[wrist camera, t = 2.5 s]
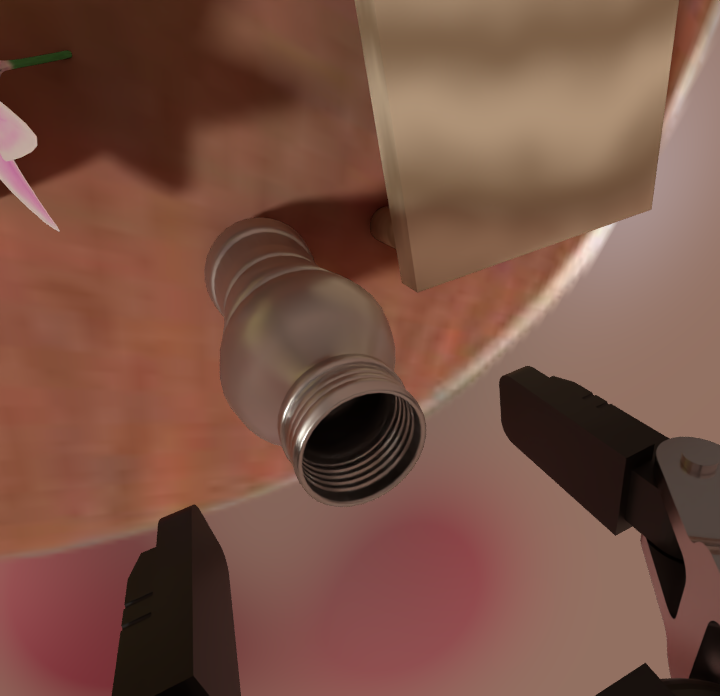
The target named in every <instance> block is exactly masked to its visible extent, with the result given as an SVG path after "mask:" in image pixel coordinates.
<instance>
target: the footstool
mask: <svg viewBox="0 0 720 696" xmlns="http://www.w3.org/2000/svg"><path fill="white" fill-rule="evenodd" d="M678 4H679V0H355V6H356V12H357V18H358V24H359V30H360V36H361V42H362V48H363V54H364V60H365V66H366V71H367V77H368V83H369V89H370V95H371V101H372V107H373V113H374V119H375V125H376V131H377V137H378V143H379V149H380V155H381V161H382V167H383V173H384V179H385V185H386V191H387V197H388V203H389V207H382V208H380V209H378V210H377V211H376V212H375V213H374V215H373V216H372V218H371V222H370V230H371V233H372V235H373V236H374V238H376V239H377V240H379V241H381V242H383V243H385V244H387V245H389V246H391V247H393V248H395V249H396V251H397V257H398V263H399V268H400V274H401V280H402V283H403V284H405V285H406V286H408V287H409V288H411V289H413V290H414V291H416V292H420V291H423V290H426V289H429V288H432V287H434V286H437V285H440V284H443V283H446V282H448V281H451V280H454V279H457V278H460V277H463V276H465V275H468V274H471V273H474V272H477V271H479V270H482V269H485V268H488V267H491V266H494V265H496V264H499V263H502V262H505V261H508V260H510V259H513V258H516V257H519V256H522V255H525V254H527V253H530V252H533V251H536V250H539V249H541V248H544V247H547V246H550V245H553V244H556V243H558V242H561V241H564V240H567V239H570V238H572V237H575V236H578V235H581V234H584V233H586V232H589V231H592V230H595V229H598V228H601V227H603V226H606V225H609V224H612V223H615V222H617V221H620V220H623V219H626V218H629V217H632V216H634V215H637V214H640V213H643V212H646V211H648V210H651V209H652V201H653V194H654V185H655V178H656V171H657V163H658V156H659V148H660V141H661V133H662V125H663V118H664V110H665V103H666V95H667V88H668V80H669V72H670V65H671V57H672V50H673V42H674V35H675V27H676V19H677V12H678Z"/></svg>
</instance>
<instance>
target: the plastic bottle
mask: <svg viewBox="0 0 720 696" xmlns="http://www.w3.org/2000/svg"><path fill="white" fill-rule="evenodd" d="M205 283H206V287H207V291H208V293H209V296H210V298H211V300H212V302H213V303H214V305H215V306H216V308H217V309H218V310H219V312H220V313H221V315H222V316H224V325H225V326H224V331H223V337H222V342H221V347H220V380H221V385H222V389H223V393H224V396H225V398H226V399H227V401H228V403H229V405H230V407H231V409H232V410H233V411H234V412H235V414H236V415H237V416H238V417H239V418H240V420H241V421H242V422H243V423H244V424H245V425H246V426H247V427H248V429H249V430H251V431H252V432H253V433H255V434H256V435H257V436H259V437H260V438H262V439H264V440H266V441H268V442H270V443H272V444H275V445H280V446H282V448H283V450H284V452H285V455H286V457H287V458H288V459H289V461H290V462H291V463H292V465H293V468H294V471H295V474H296V476H297V478H298V480H299V483H300V484H301V485H302V487H303V488H304V489H305V491H306V492H307V493H308V494H309V495H310V496H311V497H313V498H314V499H315V500H317V501H319V502H321V503H323V504H326V505H330V506H336V507H350V506H355V505H360V504H364V503H367V502H369V501H372V500H375V499H376V498H378V497H380V496H382V495H384V494H385V493H387V492H389V491H390V490H391V489H393V488H394V487H396V486H397V485H398V484H399V483H400V482H401V481H402V480H403V479H404V478H405V477H406V476H407V475H408V473H409V472H410V471H411V470H412V468H413V467H414V465H415V464H416V462H417V460H418V459H419V457H420V454H421V452H422V450H423V447H424V443H425V438H426V423H425V418H424V414H423V412H422V410H421V408H420V406H419V405H418V403H417V401H416V400H415V399H414V397H413V396H412V395H411V394H410V393H409V392H408V391H407V390H406V389H405V387H404V385H403V383H402V381H401V379H400V378H399V377H398V376H397V375H396V373H395V372H394V367H395V345H394V340H393V336H392V332H391V329H390V326H389V323H388V320H387V318H386V316H385V314H384V312H383V310H382V308H381V306H380V305H379V304H378V302H377V301H376V300H375V299H374V297H373V296H372V295H371V294H370V293H368V292H367V291H366V290H364V289H363V288H362V287H361V286H359V285H358V284H356V283H354V282H353V281H351V280H349V279H347V278H345V277H343V276H341V275H339V274H336V273H333V272H331V271H328V270H325V269H322V268H320V267H319V266H317V265H316V264H315V262H314V259H313V256H312V254H311V252H310V250H309V248H308V246H307V244H306V243H305V241H304V240H303V238H302V237H301V236H300V235H299V234H298V232H296V231H295V230H294V229H293V228H291V227H290V226H289V225H287V224H285V223H283V222H281V221H278V220H274V219H271V218H259V217H257V218H250V219H244V220H242V221H239V222H236V223H234V224H233V225H231V226H230V227H228V228H226V229H225V230H224V231H223V232H222V233H221V234H220V235H219V236H218V237H217V239H216V240H215V242H214V243H213V245H212V246H211V248H210V251H209V253H208V255H207V258H206V264H205Z"/></svg>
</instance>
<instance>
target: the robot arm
mask: <svg viewBox="0 0 720 696" xmlns="http://www.w3.org/2000/svg"><path fill="white" fill-rule="evenodd" d="M499 388H500V406H501V422H502V426H503V429H504V431H505V433H506V435H507V437H508V438H509V440H510V441H511V442H512V443H513V444H514V445H515V446H516V447H517V448H519V449H520V450H521V451H522V452H523V453H524V454H525V455H526V456H527V457H528V458H530V459H531V460H532V461H533V462H534V463H535V464H536V465H537V466H538V467H540V468H541V469H542V470H543V471H544V472H545V473H546V474H547V475H548V476H550V477H551V478H552V479H553V480H554V481H555V482H557V484H559V485H560V486H561V487H562V488H563V489H564V490H565V491H566V492H567V493H569V494H570V495H571V496H572V497H573V498H574V499H575V500H576V501H577V502H579V503H580V504H581V505H582V506H583V507H584V508H585V509H586V510H588V511H589V512H590V513H591V514H592V515H593V516H594V517H595V518H597V519H598V520H599V521H600V522H601V523H602V524H603V525H604V526H605V527H607V528H608V529H609V530H610V531H611V532H612V533H613V534H614V535H615V536H616V535H618V534H619V533H621V532H623V531H625V530H627V529H629V528H630V527H632V526H633V527H634V528H636V529H637V530H638V531H639V532H640V533H641V540H640V541H641V546H642V550H643V553H644V557H645V560H646V563H647V567H648V570H649V574H650V577H651V581H652V584H653V587H654V591H655V594H656V598H657V601H658V605H659V608H660V612H661V615H662V619H663V622H664V625H665V630H666V637H667V657H668V664H669V670H670V675H671V678H669V679H659V677H658V676H657V675H656V674H655V673H654V672H653V671H652V670H651V669H650V667H649V666H648V665H647V664H646V663H644V664H643V665H641V666H640V667H638V668H637V669H635V670H634V671H632V672H631V673H629V674H628V675H626V676H624V677H623V678H621V679H620V680H618V681H617V682H615V683H614V684H612V685H611V686H609V687H608V688H606V689H605V690H603V691H602V692H600V693H598V694H597V695H596V696H720V445H719V444H716V443H714V442H711V441H708V440H704V439H700V438H694V437H676V438H671V439H669V438H668V437H665V436H664V435H662V434H661V433H659V432H657V431H656V430H654V429H652V428H651V427H649V426H647V425H646V424H644V423H642V422H640V421H639V420H637V419H635V418H634V417H632V416H630V415H629V414H627V413H625V412H624V411H622V410H620V409H619V408H617V407H615V406H613V405H612V404H608V403H607V401H605V400H604V399H602V398H600V397H599V396H597V395H595V396H594V395H593V394H592V392H590V391H588V390H587V389H585V388H583V387H582V386H580V385H578V384H577V383H575V382H572V381H569V380H565V379H562V378H558V377H555V376H552V377H550V378H549V377H547V376H546V375H544V374H543V373H541V372H539V371H538V370H536V369H535V368H533V367H530V366H525V367H523V368H521V369H518V370H516V371H513V372H511V373H509V374H506V375H504V376H502V377H501V378H500V382H499ZM230 591H231V590H230V580H229V572H228V566H227V562H226V559H225V556H224V553H223V550H222V548H221V546H220V544H219V542H218V541H217V539H216V537H215V536H214V534H213V532H212V530H211V529H210V527H209V526H208V523H207V522H206V520H205V518H204V516H203V515H202V513H201V511H200V510H199V508H198V507H197V506H196V505H192V506H189V507H187V508H185V509H182V510H180V511H177V512H175V513H173V514H170V515H168V516H166V517H163V518H161V519H160V520H159V523H158V532H157V544H156V547H155V548H152V549H150V550H148V551H145V552H143V553H141V554H140V556H139V559H138V561H137V562H136V564H135V566H134V568H133V570H132V572H131V574H130V576H129V578H128V582H127V589H126V597H125V609H124V611H123V618H122V625H121V626H122V631H121V633H120V640H119V647H118V654H117V662H116V669H115V676H114V683H113V690H112V696H241V692H240V682H239V672H238V662H237V652H236V642H235V632H234V621H233V611H232V600H231V592H230Z"/></svg>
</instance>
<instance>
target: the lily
mask: <svg viewBox="0 0 720 696" xmlns="http://www.w3.org/2000/svg"><path fill="white" fill-rule="evenodd" d="M71 57H72V53H71V52H70V51H68V50H67V51H61V52H56V53H51V54H45V55H40V56H34V57H29V58H23V59H16V60H6V61H1V60H0V76H1V74H2V72H4V71H6V70H11V69H16V68H21V67H26V66H32V65H37V64H42V63H47V62H52V61H57V60H62V59H66V58H71ZM36 147H37V136H36V135H35V134H34V133H33V131H32V130H31V129H30V128H29V127H28V125H27V124H26V123H25V122H24V121H22V120H21V119H20V118H19V117H18V116H17V115H16V114H15V113H13V112H12V111H11V110H10V109H9V108H8V107H6V106H5V105H4V104H3V103H2V102H0V180H1V181H2V182H3V183H4V184H5V185H6V186H7V187H8V189H9V190H10V191H11V192H12V193H13V194H14V195H15V196H16V197H17V198H18V199H19V200H20V201H21V202H22V203H24V204H25V205H26V206H27V207H28V208H29V209H30V210H31V211H32V212H33V213H35V214H36V215H37V216H38V217H39V218H40V219H41V220H43V221H44V222H45V223H46V224H48V225H49V226H50V227H52V228H53V229H55V230H57V231H59V229H58V227H57V226H56V224H55V223H54V222H53V220H52V219H51V217H50V216H49V214H48V213H47V211H46V210H45V209H44V207H43V206H42V204H41V203H40V201H39V200H38V198H37V197H36V195H35V193H34V192H33V190H32V189H31V187H30V186H29V184H28V183H27V181H26V180H25V178H24V176H23V175H22V173H21V171H20V170H19V168H18V166H17V165H16V163H15V161H14V160H15V159H18V158H21V157H23V156H25V155H27V154H29V153H31V152H32V151H33V150H34V149H35V148H36ZM59 232H60V231H59Z"/></svg>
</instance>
